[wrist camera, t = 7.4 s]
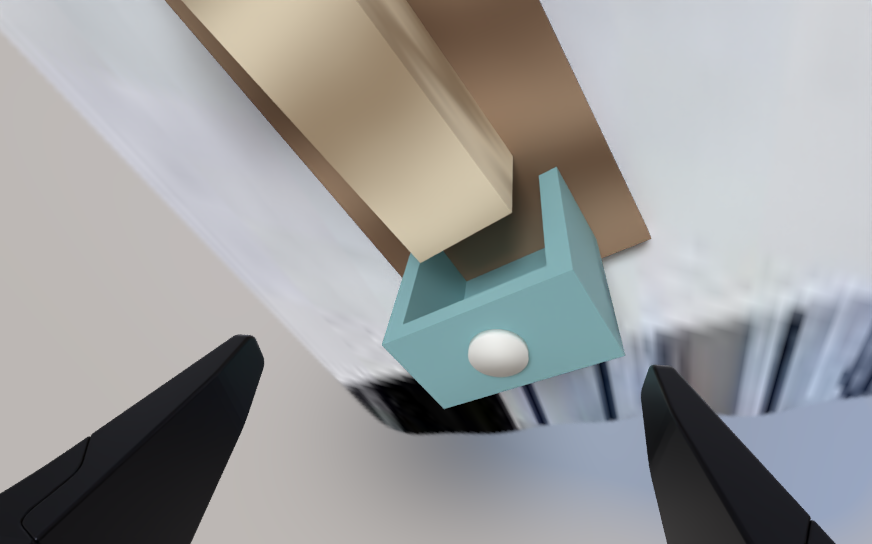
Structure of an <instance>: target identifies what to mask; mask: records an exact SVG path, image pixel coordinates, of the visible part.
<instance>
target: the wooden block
mask: <svg viewBox="0 0 872 544" xmlns="http://www.w3.org/2000/svg"><path fill="white" fill-rule="evenodd" d="M182 1H183V3H184V4H185V5H186V6H187V7H188V8H189V9H190V10H191V11H192V12H193V14H194V15H195V16H196V17H197V18H198V19H199V20H200V21H201V22H202V23H203V25H204V26H205V27H206V28H207V29H208V30H209V31H210V32H211V33H212V34H213V36H214V37H215V38H216V39H217V40H218V41H219V42H220V43H221V44H222V45H223V47H224V48H225V49H226V50H227V51H228V52H229V53H230V54H231V55H232V56H233V58H234V59H235V60H236V61H237V62H238V63H239V64H240V65H241V66H242V67H243V69H244V70H245V71H246V72H247V73H248V74H249V75H250V76H251V77H252V78H253V80H254V81H255V82H256V83H257V84H258V85H259V86H260V87H261V88H262V89H263V91H264V92H265V93H266V94H267V95H268V96H269V97H270V98H271V99H272V100H273V102H274V103H275V104H276V105H277V106H278V107H279V108H280V109H281V110H282V111H283V113H284V114H285V115H286V116H287V117H288V118H289V119H290V120H291V121H292V122H293V124H294V125H295V126H296V127H297V128H298V129H299V130H300V131H301V132H302V133H303V135H304V136H305V137H306V138H307V139H308V140H309V141H310V142H311V143H312V144H313V146H314V147H315V148H316V149H317V150H318V151H319V152H320V153H321V154H322V155H323V157H324V158H325V159H326V160H327V161H328V162H329V163H330V164H331V165H332V166H333V168H334V169H335V170H336V171H337V172H338V173H339V174H340V175H341V176H342V177H343V179H344V180H345V181H346V182H347V183H348V184H349V185H350V186H351V187H352V188H353V190H354V191H355V192H356V193H357V194H358V195H359V196H360V197H361V198H362V199H363V201H364V202H365V203H366V204H367V205H368V206H369V207H370V208H371V209H372V210H373V212H374V213H375V214H376V215H377V216H378V217H379V218H380V219H381V220H382V221H383V223H384V224H385V225H386V226H387V227H388V228H389V229H390V230H391V231H392V232H393V234H394V235H395V236H396V237H397V238H398V239H399V240H400V241H401V242H402V243H403V245H404V246H405V247H406V248H407V249H408V250H409V251H410V252H411V253H412V254H413V256H414V257H415V258H416V259H417V260H418V261H419V262H420V263H421V262H423V261H425V260H427V259H429V258H430V257H432V256H434V255H436V254H438V253H440V252H441V251H443V250H445V249H447V248H449V247H450V246H452V245H454V244H456V243H458V242H460V241H461V240H463V239H465V238H467V237H469V236H470V235H472V234H474V233H476V232H478V231H480V230H481V229H483V228H485V227H487V226H489V225H490V224H492V223H494V222H496V221H498V220H500V219H501V218H503V217H505V216H507V215H509V214H510V213H512V182H513V156H512V154H511V153H510V151H509V150H508V148H507V147H506V145H505V144H504V142H503V141H502V139H501V138H500V136H499V135H498V134H497V132H496V131H495V129H494V128H493V126H492V125H491V123H490V122H489V120H488V119H487V117H486V116H485V115H484V113H483V112H482V110H481V109H480V107H479V106H478V104H477V103H476V101H475V100H474V98H473V97H472V96H471V94H470V93H469V91H468V90H467V88H466V87H465V85H464V84H463V82H462V81H461V79H460V78H459V77H458V75H457V74H456V72H455V71H454V69H453V68H452V66H451V65H450V63H449V62H448V60H447V59H446V58H445V56H444V55H443V53H442V52H441V50H440V49H439V47H438V46H437V44H436V43H435V41H434V40H433V39H432V37H431V36H430V34H429V33H428V31H427V30H426V28H425V27H424V25H423V24H422V22H421V21H420V20H419V18H418V17H417V15H416V14H415V12H414V11H413V9H412V8H411V6H410V5H409V3H408V2H407V1H406V0H182Z"/></svg>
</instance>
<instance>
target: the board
mask: <svg viewBox="0 0 872 544" xmlns="http://www.w3.org/2000/svg"><path fill="white" fill-rule="evenodd" d="M165 1H166V2H167V3H168V5H169V6H170V7H171V8H172V9H173V10H174V12H175V13H176V14H177V15H178V16H179V17H180V19H181V20H182V21H183V22H184V23H185V24H186V26H187V27H188V28H189V29H190V30H191V31H192V33H193V34H194V35H195V36H196V37H197V38H198V40H199V41H200V42H201V43H202V44H203V45H204V47H205V48H206V49H207V50H208V51H209V52H210V54H211V55H212V56H213V57H214V58H215V59H216V61H217V62H218V63H219V64H220V65H221V66H222V68H223V69H224V70H225V71H226V72H227V73H228V75H229V76H230V77H231V78H232V79H233V80H234V82H235V83H236V84H237V85H238V86H239V87H240V89H241V90H242V91H243V92H244V93H245V94H246V96H247V97H248V98H249V99H250V100H251V101H252V103H253V104H254V105H255V106H256V107H257V109H258V110H259V111H260V112H261V113H262V114H263V116H264V117H265V118H266V119H267V120H268V121H269V123H270V124H271V125H272V126H273V127H274V128H275V130H276V131H277V132H278V133H279V134H280V135H281V137H282V138H283V139H284V140H285V141H286V142H287V144H288V145H289V146H290V147H291V148H292V149H293V151H294V152H295V153H296V154H297V155H298V156H299V158H300V159H301V160H302V161H303V162H304V163H305V165H306V166H307V167H308V168H309V169H310V170H311V172H312V173H313V174H314V175H315V176H316V177H317V179H318V180H319V181H320V182H321V183H322V184H323V186H324V187H325V188H326V189H327V190H328V191H329V193H330V194H331V195H332V196H333V197H334V198H335V200H336V201H337V202H338V203H339V204H340V205H341V207H342V208H343V209H344V210H345V211H346V212H347V214H348V215H349V216H350V217H351V218H352V219H353V221H354V222H355V223H356V224H357V225H358V227H359V228H360V229H361V230H362V231H363V232H364V234H365V235H366V236H367V237H368V238H369V239H370V241H371V242H372V243H373V244H374V245H375V246H376V248H377V249H378V250H379V251H380V252H381V253H382V255H383V256H384V257H385V258H386V259H387V260H388V262H389V263H390V264H391V265H392V266H393V267H394V269H395V270H396V271H397V272H398V273H399V274H400V276H401V277H402V278H403V275H404V272H405V269H406V266H407V262H408V259H409V256H410V253H411V252H410V251H409V250H408V249H407V248H406V247H405V246H404V245H403V243H402V242H401V241H400V240H399V239H398V238H397V237H396V236H395V235H394V234H393V232H392V231H391V230H390V229H389V228H388V227H387V226H386V225H385V224H384V223H383V221H382V220H381V219H380V218H379V217H378V216H377V215H376V214H375V213H374V212H373V210H372V209H371V208H370V207H369V206H368V205H367V204H366V203H365V202H364V201H363V199H362V198H361V197H360V196H359V195H358V194H357V193H356V192H355V191H354V190H353V188H352V187H351V186H350V185H349V184H348V183H347V182H346V181H345V180H344V179H343V177H342V176H341V175H340V174H339V173H338V172H337V171H336V170H335V169H334V168H333V166H332V165H331V164H330V163H329V162H328V161H327V160H326V159H325V158H324V157H323V155H322V154H321V153H320V152H319V151H318V150H317V149H316V148H315V147H314V146H313V144H312V143H311V142H310V141H309V140H308V139H307V138H306V137H305V136H304V135H303V133H302V132H301V131H300V130H299V129H298V128H297V127H296V126H295V125H294V124H293V122H292V121H291V120H290V119H289V118H288V117H287V116H286V115H285V114H284V113H283V111H282V110H281V109H280V108H279V107H278V106H277V105H276V104H275V103H274V102H273V100H272V99H271V98H270V97H269V96H268V95H267V94H266V93H265V92H264V91H263V89H262V88H261V87H260V86H259V85H258V84H257V83H256V82H255V81H254V80H253V78H252V77H251V76H250V75H249V74H248V73H247V72H246V71H245V70H244V69H243V67H242V66H241V65H240V64H239V63H238V62H237V61H236V60H235V59H234V58H233V56H232V55H231V54H230V53H229V52H228V51H227V50H226V49H225V48H224V47H223V45H222V44H221V43H220V42H219V41H218V40H217V39H216V38H215V37H214V36H213V34H212V33H211V32H210V31H209V30H208V29H207V28H206V27H205V26H204V25H203V23H202V22H201V21H200V20H199V19H198V18H197V17H196V16H195V15H194V14H193V12H192V11H191V10H190V9H189V8H188V7H187V6H186V5H185V4H184V3H183V1H182V0H165ZM406 1H407V2H408V3H409V5H410V6H411V8H412V9H413V11H414V12H415V14H416V15H417V17H418V18H419V20H420V21H421V22H422V24H423V25H424V27H425V28H426V30H427V31H428V33H429V34H430V36H431V37H432V39H433V40H434V41H435V43H436V44H437V46H438V47H439V49H440V50H441V52H442V53H443V55H444V56H445V58H446V59H447V60H448V62H449V63H450V65H451V66H452V68H453V69H454V71H455V72H456V74H457V75H458V77H459V78H460V79H461V81H462V82H463V84H464V85H465V87H466V88H467V90H468V91H469V93H470V94H471V96H472V97H473V98H474V100H475V101H476V103H477V104H478V106H479V107H480V109H481V110H482V112H483V113H484V115H485V116H486V117H487V119H488V120H489V122H490V123H491V125H492V126H493V128H494V129H495V131H496V132H497V134H498V135H499V136H500V138H501V139H502V141H503V142H504V144H505V145H506V147H507V148H508V150H509V151H510V153H511V154H512V156H513V182H512V213H510V214H509V215H507V216H505V217H503V218H501V219H500V220H498V221H496V222H494V223H492V224H490V225H489V226H487V227H485V228H483V229H481V230H480V231H478V232H476V233H474V234H472V235H470V236H469V237H467V238H465V239H463V240H461V241H460V242H458V243H456V244H454V245H452V246H450V247H449V248H447V249H445V250H443V251H444V253H445V254H446V255H447V257H448V258H449V259H450V260H451V262H452V263H453V264H454V266H455V267H456V268H457V270H458V271H459V272H460V274H461V275H462V276H463V277H464V279H465V280H466V281H469V280H471V279H473V278H476V277H478V276H480V275H483V274H485V273H487V272H490V271H492V270H494V269H497V268H499V267H501V266H504V265H506V264H508V263H510V262H513V261H515V260H517V259H520V258H522V257H524V256H527V255H529V254H531V253H534V252H536V251H538V250H541V249H543V248H545V243H544V231H543V219H542V208H541V196H540V184H539V175H541V174H543V173H545V172H547V171H549V170H551V169H553V168H555V167H557V168H558V170H559V172H560V174H561V176H562V177H563V179H564V181H565V183H566V185H567V186H568V188H569V190H570V192H571V194H572V196H573V197H574V199H575V201H576V203H577V205H578V207H579V208H580V210H581V212H582V214H583V216H584V217H585V219H586V221H587V223H588V225H589V227H590V228H591V230H592V232H593V234H594V236H595V237H596V239H597V243H598V247H599V251H600V255H601V258H604V257H606V256H609V255H612V254H614V253H617V252H619V251H622V250H624V249H627V248H629V247H632V246H634V245H637V244H639V243H642V242H644V241H647V240H649V239H651V236H650V234H649V231H648V229H647V227H646V225H645V222H644V220H643V218H642V216H641V214H640V212H639V210H638V208H637V205H636V203H635V201H634V199H633V197H632V195H631V193H630V191H629V189H628V186H627V184H626V182H625V180H624V178H623V176H622V174H621V172H620V170H619V167H618V165H617V163H616V161H615V159H614V157H613V155H612V153H611V151H610V148H609V146H608V144H607V142H606V140H605V138H604V136H603V134H602V132H601V129H600V127H599V125H598V123H597V121H596V119H595V117H594V115H593V113H592V110H591V108H590V106H589V104H588V102H587V100H586V98H585V96H584V94H583V91H582V89H581V87H580V85H579V83H578V81H577V79H576V77H575V75H574V72H573V70H572V68H571V66H570V64H569V62H568V60H567V58H566V56H565V53H564V51H563V49H562V47H561V45H560V43H559V41H558V39H557V37H556V34H555V32H554V30H553V28H552V26H551V24H550V22H549V20H548V18H547V15H546V13H545V11H544V9H543V7H542V5H541V3H540V1H539V0H406Z"/></svg>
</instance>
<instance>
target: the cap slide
mask: <svg viewBox="0 0 872 544" xmlns="http://www.w3.org/2000/svg"><path fill="white" fill-rule="evenodd" d="M539 184H540V196H541V208H542V219H543V231H544V243H545V248H543V249H541V250H538V251H536V252H534V253H531V254H529V255H527V256H524V257H522V258H520V259H517V260H515V261H513V262H510V263H508V264H506V265H504V266H501V267H499V268H497V269H494V270H492V271H490V272H487V273H485V274H483V275H480V276H478V277H476V278H473V279H471V280H469V281H466V280H465V279H464V277H463V276H462V275H461V274H460V272H459V271H458V270H457V268H456V267H455V266H454V264H453V263H452V262H451V260H450V259H449V258H448V257H447V255H446V254H445V253H444V251H441V252H440V253H438V254H436V255H434V256H432V257H430V258H429V259H427V260H425V261H423V262H421V263H420V262H419V261H418V260H417V259H416V258H415V257H414V256H413V254H412V253H410V256H409V259H408V262H407V266H406V269H405V272H404V275H403V278H402V282H401V285H400V288H399V291H398V294H397V298H396V301H395V304H394V307H393V311H392V314H391V317H390V320H389V323H388V327H387V330H386V333H385V336H384V339H383V343H382V346H383V347H384V348H385V349H386V350H387V351H388V352H389V353H390V354H391V355H392V356H393V357H394V358H395V359H396V360H397V361H398V362H399V363H400V364H401V365H402V366H403V367H404V368H405V369H406V370H407V371H408V372H409V373H410V374H411V375H412V377H413V378H414V379H415V380H416V381H417V382H418V383H419V384H420V385H421V386H422V387H423V388H424V389H425V390H426V391H427V392H428V393H429V394H430V395H431V396H432V397H433V398H434V399H435V400H436V401H437V402H438V403H439V404H440V405H441V406H442V407H443V408H444V409H445V408H448V407H452V406H455V405H459V404H462V403H465V402H469V401H472V400H476V399H479V398H483V397H486V396H489V395H493V394H496V393H500V392H503V391H506V390H510V389H513V388H517V387H520V386H523V385H527V384H530V383H534V382H537V381H540V380H544V379H547V378H551V377H554V376H557V375H561V374H564V373H568V372H571V371H575V370H578V369H581V368H585V367H588V366H592V365H595V364H598V363H602V362H605V361H609V360H612V359H615V358H619V357H622V356H625V353H624V349H623V345H622V341H621V337H620V333H619V329H618V325H617V321H616V316H615V312H614V308H613V304H612V300H611V296H610V292H609V288H608V284H607V280H606V276H605V272H604V268H603V264H602V260H601V255H600V251H599V247H598V243H597V239H596V237H595V236H594V234H593V232H592V230H591V228H590V227H589V225H588V223H587V221H586V219H585V217H584V216H583V214H582V212H581V210H580V208H579V207H578V205H577V203H576V201H575V199H574V197H573V196H572V194H571V192H570V190H569V188H568V186H567V185H566V183H565V181H564V179H563V177H562V176H561V174H560V172H559V170H558V168H557V167H555V168H553V169H551V170H549V171H547V172H545V173H543V174H541V175H539Z"/></svg>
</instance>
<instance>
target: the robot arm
mask: <svg viewBox="0 0 872 544" xmlns="http://www.w3.org/2000/svg"><path fill="white" fill-rule="evenodd" d="M263 367H264V358H263V355H262V353H261V350H260V348H259V345H258V343H257V341H256V339H255V337H253V336H251V335H235V336H233V337H232V338H230V339H229V340H227V341H226V342H224V343H223V344H221V345H220V346H219V347H217V348H216V349H214V350H213V351H211V352H210V353H208V354H207V355H206V356H204V357H203V358H201V359H200V360H198V361H197V362H195V363H194V364H192V365H191V366H190V367H188V368H187V369H185V370H184V371H183V372H181V373H179V374H178V375H177V376H175V377H174V378H172V379H171V380H169V381H168V382H166V383H165V384H164V385H162V386H161V387H159V388H158V389H156V390H155V391H153V392H152V393H151V394H149V395H148V396H146V397H145V398H144V399H142V400H140V401H139V402H137V403H136V404H135V405H133V406H132V407H130V408H129V409H127V410H126V411H124V412H123V413H122V414H120V415H119V416H117V417H116V418H114V419H113V420H112V421H110V422H109V423H107V424H106V425H104V426H103V427H101V428H100V429H99V430H97V431H95V432H94V433H93V434H92V435H91V437H87V438H85V439H84V440H82V441H81V442H79V443H78V444H77V445H75V446H74V447H72V448H71V449H69V450H68V451H66V452H65V453H63V454H62V455H60V456H59V457H57V458H56V459H54V460H53V461H51V462H50V463H48V464H47V465H45V466H44V467H42V468H41V469H39V470H37V471H36V472H34V473H33V474H31V475H29V476H28V477H26V478H25V479H23V480H21V481H20V482H18V483H17V484H15V485H14V486H12V487H10V488H9V489H7V490H5V491H4V492H2V493H0V544H190V543H191V541H192V539H193V537H194V535H195V533H196V530H197V528H198V526H199V524H200V522H201V519H202V517H203V515H204V513H205V511H206V508H207V506H208V504H209V502H210V500H211V497H212V495H213V493H214V491H215V489H216V486H217V484H218V482H219V479H220V478H221V475H222V473H223V471H224V469H225V467H226V464H227V462H228V460H229V458H230V455H231V453H232V451H233V449H234V447H235V445H236V442H237V440H238V438H239V436H240V434H241V431H242V429H243V426H244V424H245V421H246V419H247V416H248V413H249V410H250V407H251V404H252V401H253V398H254V395H255V392H256V389H257V386H258V383H259V380H260V377H261V374H262V371H263ZM641 402H642V411H643V419H644V428H645V436H646V445H647V454H648V461H649V468H650V472H651V478H652V482H653V486H654V490H655V494H656V499H657V503H658V507H659V511H660V515H661V520H662V524H663V528H664V532H665V536H666V540H667V544H835V543H834V541H833V540H832V539H831V538H830V537H829V536H828V535H827V534H826V533H825V532H824V531H823V530H822V529H821V527H820V526H819V525H818V524H817V523H816V522H815V521H813V520H811V521H810V519H811V518H810V516H809V515H808V513H807V512H806V511H805V510H804V509H803V508H802V507H801V506H800V505H799V504H798V503H797V501H796V500H795V499H794V498H793V497H792V496H791V495H790V494H789V493H788V492H787V491H786V489H784V487H783V486H782V485H781V484H780V483H779V482H778V481H777V480H776V479H775V478H774V476H773V475H772V474H771V473H770V472H769V471H768V470H767V469H766V468H765V467H764V466H763V465H762V463H761V462H760V461H759V460H758V459H757V458H756V457H755V456H754V455H753V454H752V453H751V451H750V450H749V449H748V448H747V447H746V446H745V445H744V444H743V443H742V442H741V441H740V439H738V437H737V436H736V435H735V434H734V433H733V432H732V431H731V430H730V429H729V427H727V425H726V424H725V423H724V422H723V421H722V420H721V419H720V418H719V417H718V415H717V414H716V413H715V412H714V411H713V410H712V409H711V408H710V407H709V406H708V405H707V403H706V402H705V401H704V400H703V399H702V398H701V397H700V396H699V395H698V394H697V393H696V391H695V390H694V389H693V388H692V387H691V386H690V385H689V384H688V383H687V382H686V381H685V380H684V378H683V377H682V376H681V375H680V374H679V373H678V372H677V371H676V370H675V369H674V368H673V367H671V366H666V365H651V366H650V367H649V369H648V372H647V375H646V378H645V381H644V384H643V387H642V391H641Z"/></svg>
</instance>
